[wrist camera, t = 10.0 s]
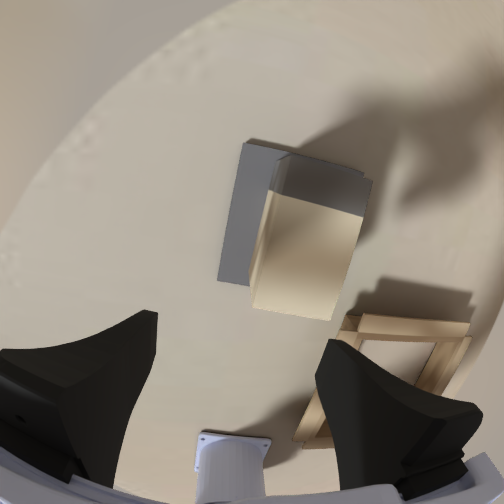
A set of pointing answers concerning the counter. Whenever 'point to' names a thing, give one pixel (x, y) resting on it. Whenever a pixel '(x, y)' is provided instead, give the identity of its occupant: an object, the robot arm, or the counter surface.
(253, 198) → the mat
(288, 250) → the box
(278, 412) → the counter surface
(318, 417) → the square wooden frame
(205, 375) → the counter surface
